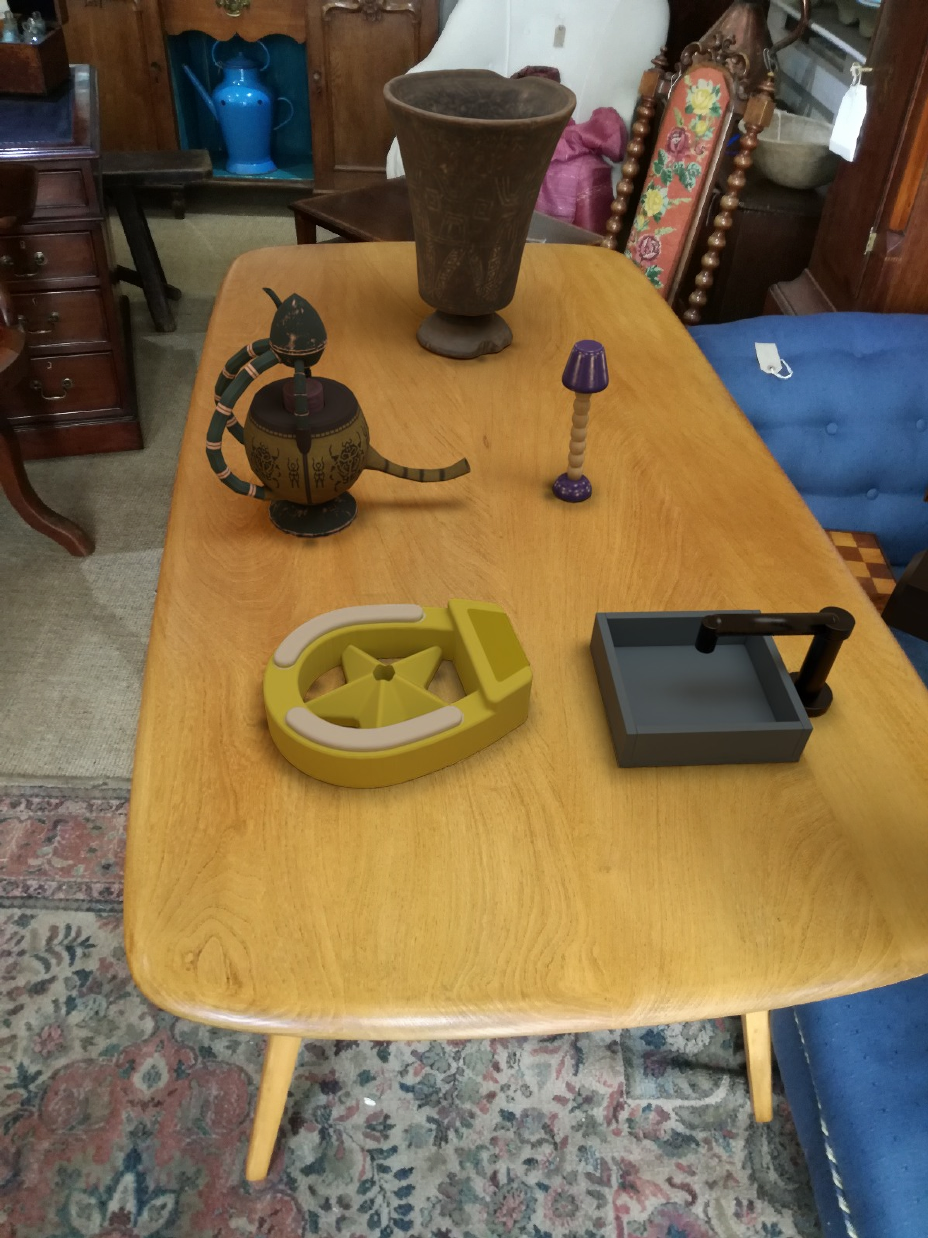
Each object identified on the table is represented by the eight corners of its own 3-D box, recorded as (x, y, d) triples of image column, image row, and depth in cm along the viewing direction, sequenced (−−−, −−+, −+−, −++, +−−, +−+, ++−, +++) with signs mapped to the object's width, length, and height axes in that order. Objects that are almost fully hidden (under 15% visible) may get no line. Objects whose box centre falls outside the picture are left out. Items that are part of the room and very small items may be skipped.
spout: (836, 633, 76) (849, 603, 74) (848, 657, 74) (862, 627, 72) (690, 635, 75) (699, 604, 73) (699, 659, 73) (708, 629, 71)
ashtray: (545, 753, 74) (552, 711, 70) (282, 807, 69) (276, 765, 66) (484, 616, 85) (487, 574, 82) (255, 654, 81) (248, 612, 77)
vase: (352, 336, 125) (342, 84, 104) (461, 290, 137) (471, 56, 116) (475, 396, 114) (490, 130, 94) (580, 341, 126) (614, 94, 106)
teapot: (229, 480, 99) (195, 264, 84) (462, 473, 102) (472, 263, 86) (220, 551, 91) (180, 325, 75) (475, 542, 93) (488, 321, 77)
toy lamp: (541, 493, 100) (558, 348, 89) (558, 472, 103) (577, 329, 92) (582, 506, 98) (605, 361, 87) (598, 485, 102) (622, 342, 90)
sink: (748, 642, 84) (760, 609, 81) (798, 762, 74) (813, 728, 72) (589, 646, 83) (595, 612, 80) (618, 767, 73) (627, 734, 70)
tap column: (829, 685, 81) (859, 619, 75) (829, 722, 78) (860, 656, 72) (777, 674, 81) (803, 608, 76) (775, 710, 78) (802, 644, 73)
